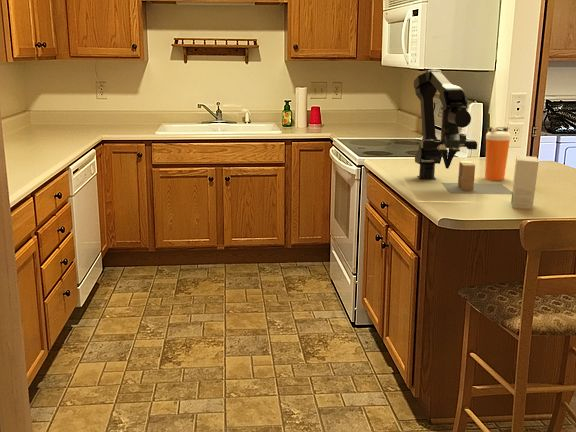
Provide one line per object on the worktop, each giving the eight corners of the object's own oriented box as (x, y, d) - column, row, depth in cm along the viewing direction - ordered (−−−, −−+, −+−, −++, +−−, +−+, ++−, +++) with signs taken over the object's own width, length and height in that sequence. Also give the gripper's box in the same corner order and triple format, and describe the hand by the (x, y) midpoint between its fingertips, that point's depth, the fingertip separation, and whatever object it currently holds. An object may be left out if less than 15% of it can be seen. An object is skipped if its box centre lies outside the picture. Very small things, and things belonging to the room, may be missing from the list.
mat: (441, 183, 239) (441, 182, 239) (501, 184, 238) (501, 183, 238) (450, 194, 222) (450, 193, 222) (515, 195, 221) (515, 194, 220)
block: (457, 185, 233) (459, 161, 231) (468, 186, 233) (470, 161, 231) (461, 190, 227) (463, 164, 224) (473, 190, 226) (475, 165, 224)
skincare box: (510, 202, 211) (515, 155, 207) (532, 204, 209) (537, 156, 205) (511, 208, 203) (516, 159, 199) (534, 210, 201) (539, 160, 197)
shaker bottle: (510, 181, 244) (515, 128, 239) (488, 182, 243) (493, 129, 238) (499, 177, 253) (504, 125, 248) (478, 177, 251) (482, 126, 246)
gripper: (426, 126, 217) (423, 172, 221) (482, 127, 216) (478, 173, 220) (421, 122, 228) (419, 166, 232) (475, 123, 227) (471, 167, 231)
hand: (447, 168), depth 229 cm, fingers closed
